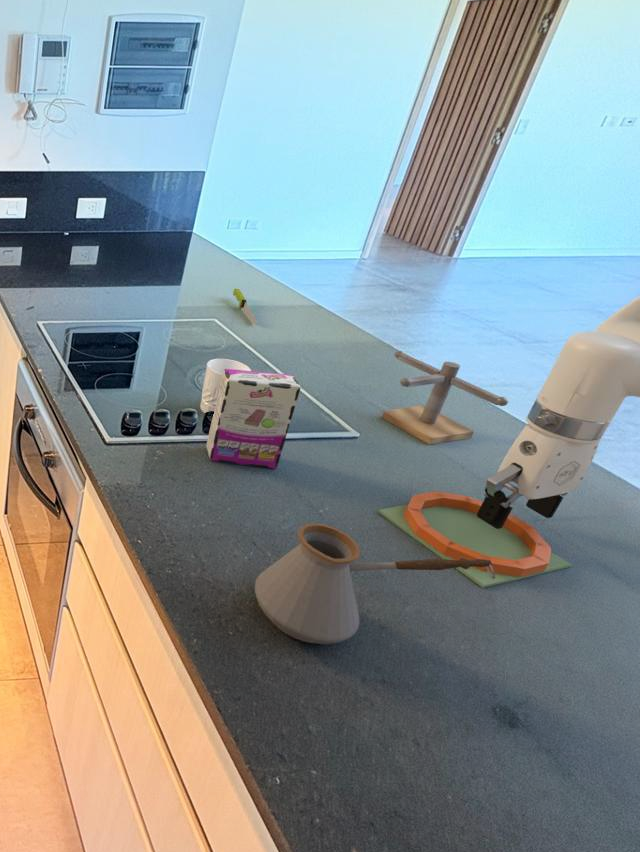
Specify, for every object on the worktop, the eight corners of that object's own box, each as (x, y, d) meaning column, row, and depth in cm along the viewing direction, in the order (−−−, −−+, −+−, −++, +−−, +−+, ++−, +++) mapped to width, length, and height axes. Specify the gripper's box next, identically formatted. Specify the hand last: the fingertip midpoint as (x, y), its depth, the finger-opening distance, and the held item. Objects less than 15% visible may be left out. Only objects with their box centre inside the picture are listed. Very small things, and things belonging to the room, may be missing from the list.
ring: (459, 493, 100) (463, 485, 100) (575, 564, 86) (580, 555, 86) (379, 508, 97) (383, 500, 96) (486, 585, 83) (491, 576, 82)
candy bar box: (269, 454, 111) (294, 373, 104) (277, 470, 107) (303, 387, 100) (203, 445, 114) (223, 366, 106) (208, 461, 109) (229, 379, 102)
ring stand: (396, 398, 129) (420, 339, 123) (501, 453, 111) (535, 387, 105) (336, 407, 126) (357, 347, 120) (434, 465, 108) (465, 398, 102)
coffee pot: (253, 639, 76) (285, 547, 69) (245, 574, 85) (273, 487, 79) (464, 698, 69) (523, 601, 62) (430, 620, 78) (478, 529, 72)
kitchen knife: (257, 331, 164) (260, 321, 162) (252, 331, 164) (255, 321, 163) (236, 296, 183) (238, 287, 181) (231, 296, 183) (234, 287, 181)
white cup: (226, 400, 128) (237, 357, 124) (247, 420, 121) (259, 375, 117) (190, 402, 128) (199, 359, 124) (208, 422, 121) (219, 377, 117)
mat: (457, 496, 100) (458, 494, 100) (570, 567, 86) (572, 564, 86) (377, 512, 97) (378, 509, 97) (482, 588, 83) (484, 585, 83)
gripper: (550, 443, 79) (495, 544, 87) (646, 426, 83) (585, 524, 91) (489, 414, 86) (443, 510, 94) (581, 399, 90) (529, 493, 97)
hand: (513, 517), depth 92 cm, fingers open, 9 cm apart
